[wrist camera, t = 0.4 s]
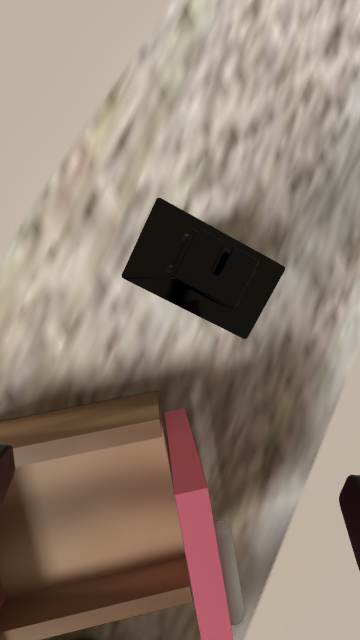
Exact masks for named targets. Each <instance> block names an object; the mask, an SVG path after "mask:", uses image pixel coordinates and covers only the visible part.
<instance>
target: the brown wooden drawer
mask: <svg viewBox="0 0 360 640" xmlns="http://www.w3.org/2000/svg"><path fill="white" fill-rule="evenodd" d="M0 443H4V444H10V445H12V447H13V453H14V461H15V472H14V476H13V479H12V481H11V484H10V486H9V489H8V491H7V493H6V496H5V498H4V501H3V503H2V506H1V508H0V640H41V639H45V638H49V637H53V636H57V635H61V634H65V633H69V632H73V631H77V630H81V629H85V628H89V627H93V626H97V625H101V624H105V623H110V622H114V621H118V620H122V619H126V618H130V617H134V616H138V615H142V614H146V613H150V612H154V611H158V610H162V609H166V608H170V607H174V606H178V605H182V604H186V603H190V602H193V601H192V594H191V586H190V579H189V572H188V565H187V559H186V553H185V548H184V542H183V537H182V531H181V526H180V521H179V515H178V510H177V504H176V499H175V492H174V484H173V476H172V470H171V465H170V459H169V454H168V448H167V443H166V437H165V432H164V426H163V421H162V415H161V410H160V404H159V399H158V393H157V391H154V392H149V393H143V394H138V395H133V396H128V397H123V398H118V399H112V400H107V401H102V402H97V403H92V404H87V405H81V406H76V407H71V408H66V409H61V410H56V411H50V412H45V413H40V414H35V415H30V416H25V417H20V418H14V419H9V420H4V421H0Z"/></svg>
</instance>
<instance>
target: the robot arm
mask: <svg viewBox="0 0 360 640" xmlns="http://www.w3.org/2000/svg"><path fill="white" fill-rule="evenodd" d="M14 472H15V461H14V453H13V447H12V445H10V444H4V443H0V508H1V506H2V503H3V501H4V498H5V496H6V493H7V491H8V489H9V486H10V484H11V481H12V479H13V476H14ZM339 503H340V507H341V511H342V514H343V517H344V520H345V524H346V528H347V531H348V534H349V538H350V541H351V545H352V548H353V551H354V555H355V558H356V561H357V564H358V567H359V570H360V475H350V476H348V478H347V480H346V482H345V484H344V486H343V489H342V491H341V493H340V496H339Z"/></svg>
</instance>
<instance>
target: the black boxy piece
mask: <svg viewBox="0 0 360 640" xmlns="http://www.w3.org/2000/svg"><path fill="white" fill-rule="evenodd" d="M284 270H285V267H284V266H282V265H280V264H279V263H277V262H275V261H273V260H271V259H270V258H268V257H266V256H264V255H262V254H261V253H259V252H257V251H255V250H253V249H252V248H250V247H248V246H246V245H244V244H242V243H241V242H239V241H237V240H235V239H233V238H232V237H230V236H228V235H226V234H224V233H223V232H221V231H219V230H217V229H215V228H214V227H212V226H210V225H208V224H206V223H205V222H203V221H201V220H199V219H197V218H195V217H194V216H192V215H190V214H188V213H186V212H185V211H183V210H181V209H179V208H177V207H176V206H174V205H172V204H170V203H168V202H167V201H165V200H163V199H161V198H157V199H156V202H155V204H154V206H153V208H152V210H151V212H150V215H149V217H148V219H147V221H146V223H145V225H144V228H143V230H142V232H141V234H140V236H139V239H138V241H137V243H136V245H135V247H134V249H133V252H132V254H131V256H130V258H129V260H128V263H127V265H126V267H125V269H124V271H123V273H122V278H124V279H125V280H127V281H129V282H131V283H133V284H135V285H137V286H139V287H141V288H143V289H145V290H147V291H149V292H151V293H153V294H155V295H157V296H159V297H161V298H163V299H165V300H167V301H169V302H171V303H173V304H175V305H177V306H179V307H181V308H183V309H185V310H187V311H189V312H191V313H193V314H195V315H197V316H199V317H201V318H203V319H205V320H207V321H209V322H211V323H213V324H215V325H217V326H219V327H221V328H223V329H225V330H227V331H229V332H231V333H233V334H235V335H237V336H239V337H241V338H243V339H246V338H247V337H248V336H249V334H250V332H251V330H252V328H253V327H254V325H255V323H256V321H257V319H258V318H259V316H260V314H261V312H262V310H263V309H264V307H265V305H266V303H267V301H268V299H269V298H270V296H271V294H272V292H273V290H274V289H275V287H276V285H277V283H278V281H279V279H280V278H281V276H282V274H283V272H284Z"/></svg>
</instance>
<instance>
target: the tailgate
mask: <svg viewBox="0 0 360 640" xmlns="http://www.w3.org/2000/svg"><path fill="white" fill-rule="evenodd" d="M165 419H166V427H167V435H168V444H169V452H170V460H171V468H172V476H173V484H174V492H175V499H176V504H177V510H178V515H179V521H180V526H181V531H182V537H183V542H184V548H185V553H186V559H187V564H188V570H189V575H190V581H191V586H192V592H193V597H194V603H195V608H196V614H197V619H198V625H199V630H200V636H201V640H233V635H232V629H231V625H237V624H239V623H240V622H242V620H243V619H244V616H245V611H244V604H243V598H242V592H241V586H240V579H239V573H238V567H237V561H236V555H235V548H234V542H233V536H232V530H231V526H230V524H229V523H228V522H226V521H223V520H217V521H214V522H213V516H212V510H211V504H210V498H209V492H208V487H207V483H206V480H205V476H204V473H203V470H202V466H201V463H200V459H199V456H198V452H197V449H196V445H195V442H194V439H193V435H192V432H191V428H190V425H189V421H188V418H187V414H186V411H185V408H182V409H177V410H172V411H167V412H165Z"/></svg>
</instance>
